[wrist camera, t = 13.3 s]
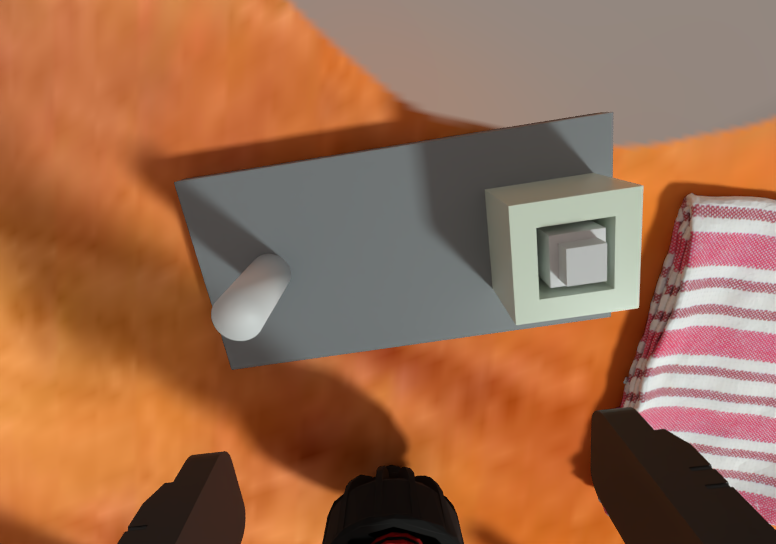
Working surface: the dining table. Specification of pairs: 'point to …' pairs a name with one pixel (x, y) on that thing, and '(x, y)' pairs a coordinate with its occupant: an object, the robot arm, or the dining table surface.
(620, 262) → the collar
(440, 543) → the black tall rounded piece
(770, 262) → the dish towel
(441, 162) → the board
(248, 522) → the dining table surface
